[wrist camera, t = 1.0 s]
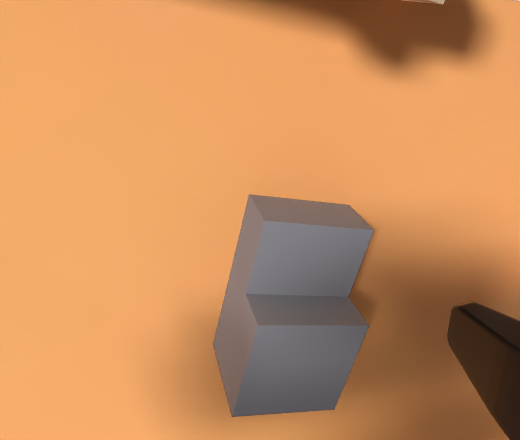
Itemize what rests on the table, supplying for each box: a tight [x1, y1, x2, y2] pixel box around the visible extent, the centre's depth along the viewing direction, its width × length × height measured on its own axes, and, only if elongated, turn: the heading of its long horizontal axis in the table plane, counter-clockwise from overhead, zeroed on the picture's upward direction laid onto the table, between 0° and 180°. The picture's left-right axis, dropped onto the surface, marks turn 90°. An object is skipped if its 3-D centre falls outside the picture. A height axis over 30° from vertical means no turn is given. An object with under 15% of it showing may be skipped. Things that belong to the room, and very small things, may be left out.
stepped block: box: [213, 194, 374, 417], centre depth 20 cm, size 5×8×4 cm, turn 166°
